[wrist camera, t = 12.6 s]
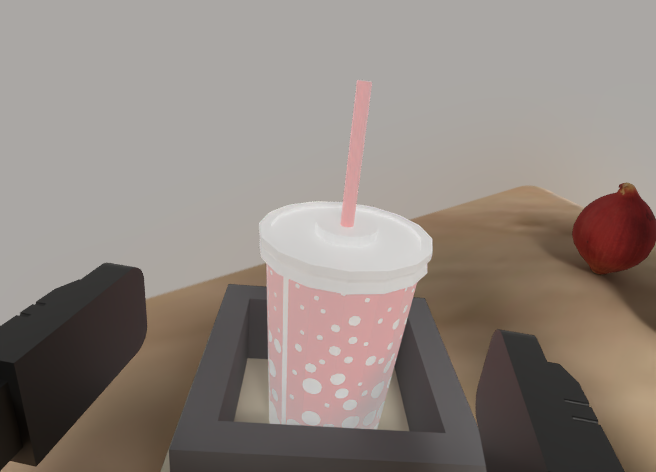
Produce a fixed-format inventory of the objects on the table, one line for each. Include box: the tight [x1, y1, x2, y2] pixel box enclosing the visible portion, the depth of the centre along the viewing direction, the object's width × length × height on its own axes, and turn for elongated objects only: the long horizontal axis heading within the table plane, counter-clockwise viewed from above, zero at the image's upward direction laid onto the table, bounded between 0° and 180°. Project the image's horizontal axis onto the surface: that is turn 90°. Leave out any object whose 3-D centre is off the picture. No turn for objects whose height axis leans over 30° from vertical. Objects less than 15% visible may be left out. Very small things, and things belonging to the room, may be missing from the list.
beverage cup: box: [259, 80, 433, 429], centre depth 17 cm, size 6×6×14 cm
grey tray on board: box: [161, 284, 487, 472], centre depth 19 cm, size 12×12×4 cm
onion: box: [572, 183, 656, 275], centre depth 37 cm, size 6×6×8 cm
